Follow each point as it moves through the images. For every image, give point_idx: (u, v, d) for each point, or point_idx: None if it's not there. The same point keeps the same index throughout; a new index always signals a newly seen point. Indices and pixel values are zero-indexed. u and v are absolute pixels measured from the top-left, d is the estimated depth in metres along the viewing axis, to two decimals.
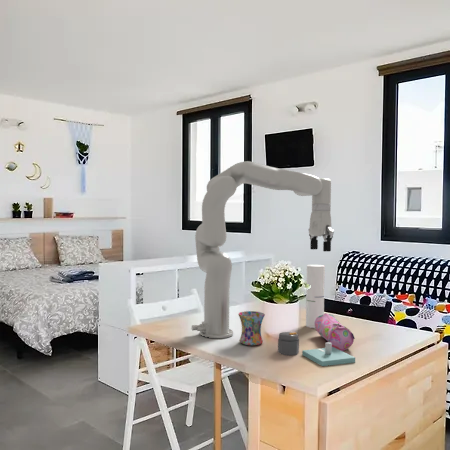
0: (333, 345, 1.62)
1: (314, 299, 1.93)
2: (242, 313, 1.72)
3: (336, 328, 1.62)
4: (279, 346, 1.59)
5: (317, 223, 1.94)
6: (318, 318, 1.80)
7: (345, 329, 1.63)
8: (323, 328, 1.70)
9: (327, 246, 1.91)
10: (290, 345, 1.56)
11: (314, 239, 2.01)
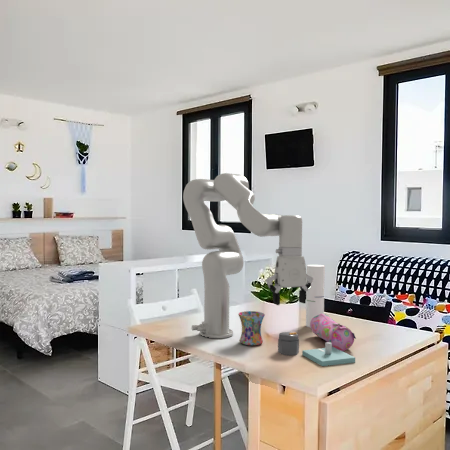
0: (335, 345, 1.62)
1: (314, 299, 1.93)
2: (242, 313, 1.72)
3: (337, 328, 1.62)
4: (279, 346, 1.59)
5: (299, 271, 1.57)
6: (314, 318, 1.80)
7: (346, 329, 1.63)
8: (322, 328, 1.70)
9: None
10: (290, 345, 1.56)
11: None
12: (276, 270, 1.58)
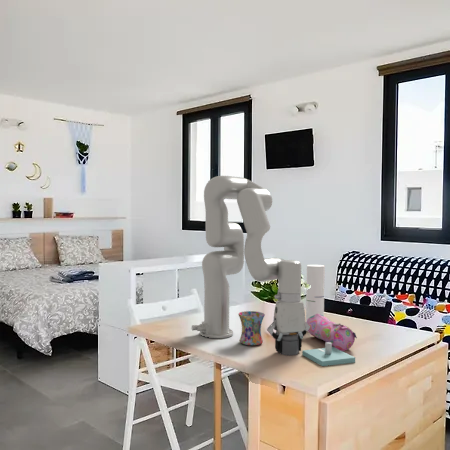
0: (336, 346, 1.61)
1: (314, 299, 1.93)
2: (242, 313, 1.72)
3: (339, 328, 1.62)
4: None
5: (298, 316, 1.57)
6: (310, 319, 1.79)
7: (347, 329, 1.63)
8: (321, 329, 1.69)
9: None
10: (290, 345, 1.56)
11: None
12: (275, 316, 1.58)
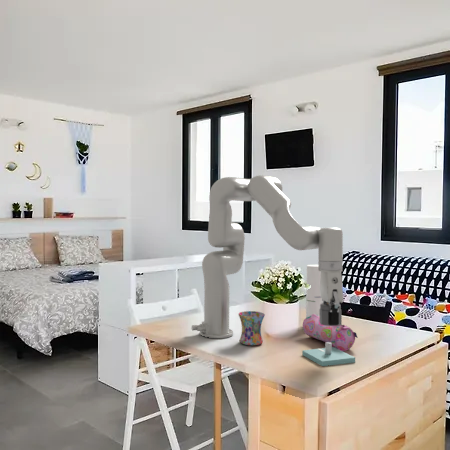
0: (338, 346, 1.61)
1: (314, 299, 1.93)
2: (242, 313, 1.72)
3: (340, 328, 1.62)
4: None
5: None
6: (307, 319, 1.78)
7: (348, 329, 1.63)
8: (321, 329, 1.68)
9: None
10: None
11: None
12: (333, 287, 1.48)
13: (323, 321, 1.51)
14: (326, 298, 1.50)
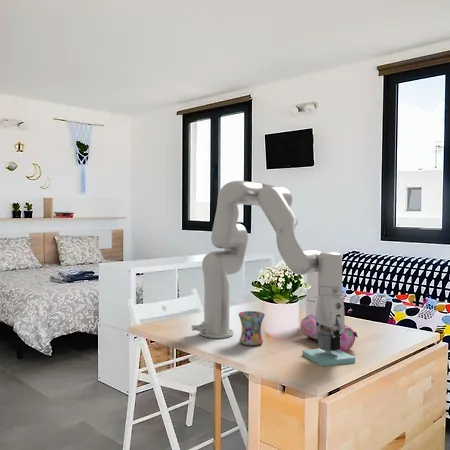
0: (340, 346, 1.61)
1: (314, 299, 1.93)
2: (242, 313, 1.72)
3: None
4: None
5: None
6: (305, 320, 1.77)
7: (348, 328, 1.63)
8: None
9: None
10: None
11: None
12: (337, 313, 1.48)
13: (324, 346, 1.51)
14: (328, 323, 1.50)
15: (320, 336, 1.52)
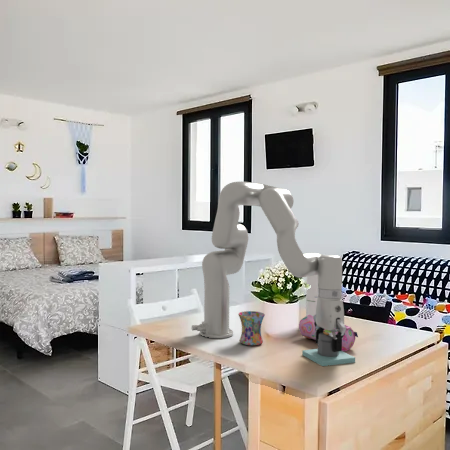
0: None
1: (314, 299, 1.93)
2: (242, 313, 1.72)
3: None
4: None
5: None
6: (303, 320, 1.76)
7: (349, 328, 1.64)
8: None
9: None
10: None
11: None
12: (336, 315, 1.48)
13: (324, 352, 1.51)
14: (328, 326, 1.50)
15: (320, 342, 1.52)
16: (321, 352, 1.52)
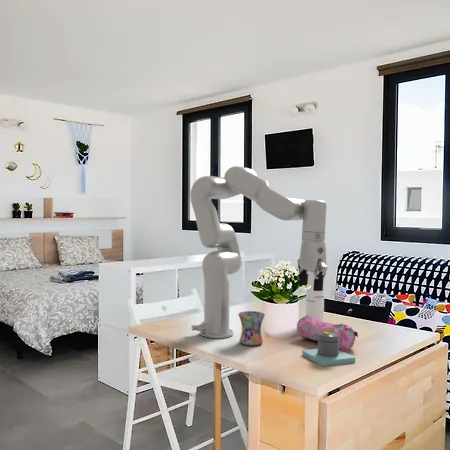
0: (342, 346, 1.61)
1: (314, 299, 1.93)
2: (242, 313, 1.72)
3: (344, 329, 1.62)
4: (333, 350, 1.51)
5: None
6: (301, 321, 1.75)
7: (349, 328, 1.64)
8: (321, 330, 1.67)
9: None
10: None
11: None
12: (318, 257, 1.55)
13: (324, 352, 1.51)
14: (310, 267, 1.56)
15: (320, 342, 1.52)
16: (321, 352, 1.52)
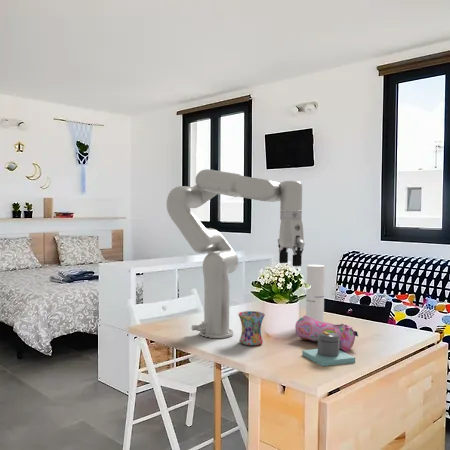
0: (344, 346, 1.61)
1: (314, 299, 1.93)
2: (242, 313, 1.72)
3: (344, 329, 1.62)
4: (333, 350, 1.51)
5: None
6: (300, 322, 1.74)
7: (350, 328, 1.64)
8: (321, 331, 1.66)
9: None
10: None
11: None
12: (296, 234, 1.64)
13: (324, 352, 1.51)
14: (289, 244, 1.65)
15: (320, 342, 1.52)
16: (321, 352, 1.52)
